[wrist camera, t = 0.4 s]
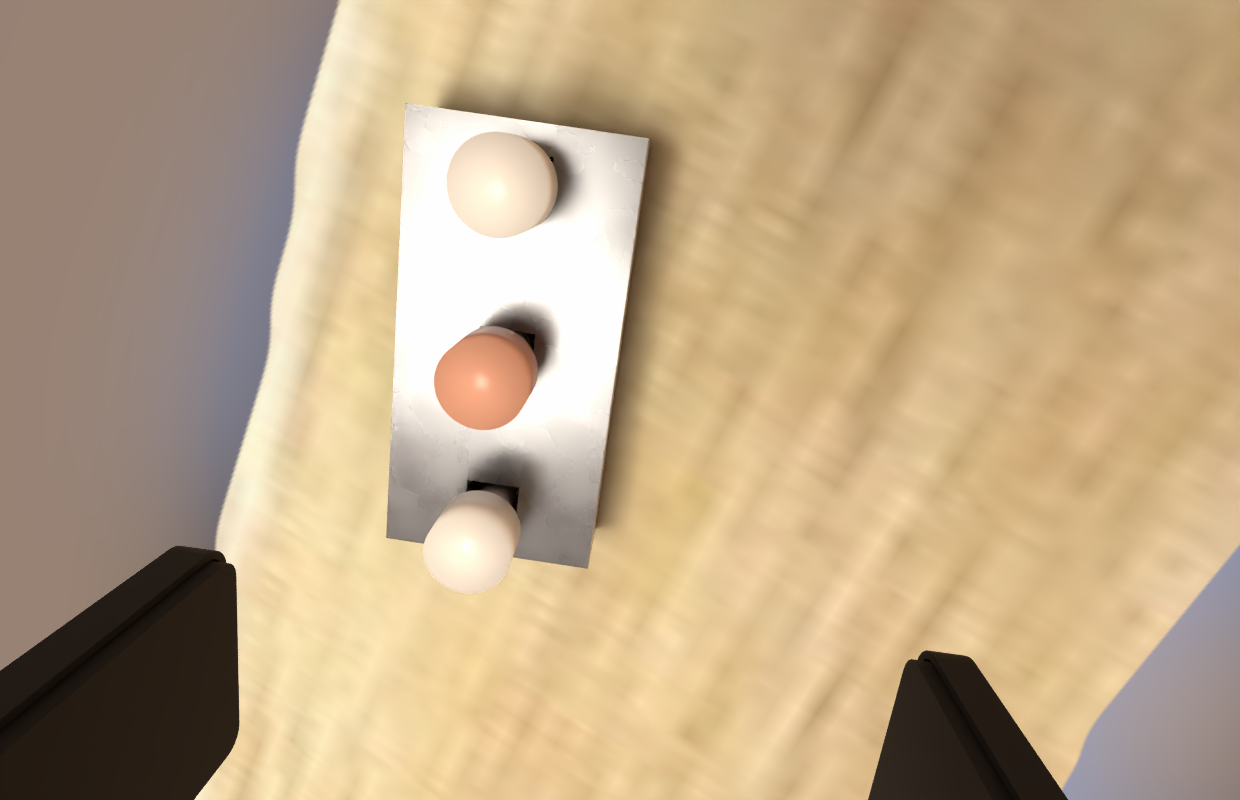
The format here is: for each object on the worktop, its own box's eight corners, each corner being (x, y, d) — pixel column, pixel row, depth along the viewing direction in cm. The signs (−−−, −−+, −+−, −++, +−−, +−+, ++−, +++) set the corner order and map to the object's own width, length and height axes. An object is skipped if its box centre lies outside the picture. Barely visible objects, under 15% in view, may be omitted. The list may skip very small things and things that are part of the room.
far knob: (467, 450, 43) (425, 509, 36) (539, 461, 43) (513, 522, 36) (462, 516, 45) (420, 586, 37) (532, 526, 45) (505, 599, 37)
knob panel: (436, 111, 40) (405, 103, 35) (650, 142, 40) (648, 138, 35) (414, 501, 47) (386, 537, 43) (595, 528, 47) (587, 568, 43)
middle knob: (479, 302, 41) (436, 332, 33) (556, 314, 41) (531, 346, 33) (473, 377, 42) (431, 422, 34) (548, 388, 42) (522, 436, 34)
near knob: (492, 133, 38) (449, 124, 30) (575, 146, 38) (553, 139, 30) (485, 219, 39) (443, 230, 32) (565, 231, 39) (542, 245, 32)
